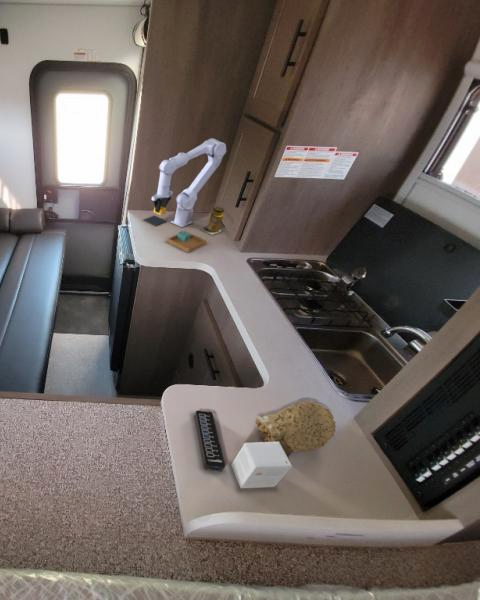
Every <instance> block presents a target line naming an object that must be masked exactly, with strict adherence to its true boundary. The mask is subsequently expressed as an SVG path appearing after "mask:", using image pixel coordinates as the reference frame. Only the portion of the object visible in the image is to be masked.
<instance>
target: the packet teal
mask: <svg viewBox="0 0 480 600" xmlns="http://www.w3.org/2000/svg"><path fill="white" fill-rule="evenodd" d="M186 232H187V231H186ZM186 232H184V230H182V231H179V232H177V233H176V235H177V239H179V240H181V241H184V242H186V241H188V240H189V239H190V235H191V234H192V233H191V234H188V233H189V232H188V233H186Z"/></svg>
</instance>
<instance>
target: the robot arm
mask: <svg viewBox="0 0 480 600" xmlns="http://www.w3.org/2000/svg"><path fill="white" fill-rule="evenodd" d="M226 153H227V144H226V143H225V142H223V141H220V140H218V139H216V138H213V137H211V138H209V139H206V140H204V142H203V143H201V144H200V145H198V146H196V147H194V148H193V149H191V150H189V151H187V152H186V153H185V152H178V154H177V155H175V156H172V157H170V158H169V159H164V160H162V161H161V163H160V164H159V165H158V169H159V170H160V172H159V179H158V184H157V185H158V186H157V190H156V191H157V192H156V193H155V194H153V196H151V199H150V200H151V201H153V205H154V207H155V212H159V211H160V207H161V206H162V207H165V208H166V209H167V206H168V204H169V202H170V201H171V199H172V197H171V196H173V193H174V191H173V190H170V187H171V181H172V176H173V174H174V173H175V171H176V170H177V169H179V168H181V167H184V166H186V165H187V164H189V163H188V162H189V161H190V160H192V159H194V158H197V157H200V156H201V155H203V154H206V155H207V159H208V161H207V162H206V164H205V165H204V167H203V168H202V169H201V171H200V172H199V173H198V174H197V176H196V177H195V178H194V180H193V181H192V182H191V184H190V185H189V186H188V188H185V189H183V190H182V192H181V193H179V194H178V195H177V196H176V198H175V202H176V206H177V207H176V211H175V215H174V219H173V220H171V221H170V223H171V224H174V225H176V226H178V227H180V228H183V227H185V226H186V227H187V226H188V225H190V224H193V221H192V219H193V216H194V207H195V204H196V202H197V200H198V193H200V191H201V190H202V189H203V187H204V186H205V184H206V183H207V182H208V180H210V178H211V176H212V175H213V174H214V172H216V170H217V169H218V167H220V164H221V163H222V160H223V157H224V156H225V154H226Z"/></svg>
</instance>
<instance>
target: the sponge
mask: <svg viewBox="0 0 480 600" xmlns="http://www.w3.org/2000/svg"><path fill="white" fill-rule="evenodd" d="M334 418H335V417H334V414H333V412H331V411H330V409H329V408H327V407H324V406H322V405H321V404H319V403H318V402H315V401H312V400H303V401H297V402H296V403H294V404H291V405H289V406H288V407H284V408H282V409H280V410H279V411H278V412H276V413H274V414H272V413H271V414H266V415H265V414H264V415H263V416H261V415H260V416H257V417H256V418H255V424H256V428H257V429H258V430H259V432H260V435H261V437H263V438H264V439H263V440H264V442H278V441H279V443H280V445H281V446H282V448H283V450H284V452H285V454H291V453H295V452H300V451H302V452H314V451H317V450H318V449H320V448H322V447H324V446H325V444H327V442H328V441H330V440H331V439H332V437H334V436H335V433H336V427H337V426H336V423H337V422H336V421H335V420H334Z"/></svg>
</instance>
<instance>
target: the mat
mask: <svg viewBox="0 0 480 600" xmlns="http://www.w3.org/2000/svg"><path fill="white" fill-rule="evenodd" d="M143 222H146V223H149V224H150V225H152V226H155V227H157V226H160V225H162V224H164V223H167V220H165V219H164V218H163V219H162V218H160V217H158V216H156V215H152V216H150V217H147V218H145V219H143Z"/></svg>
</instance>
